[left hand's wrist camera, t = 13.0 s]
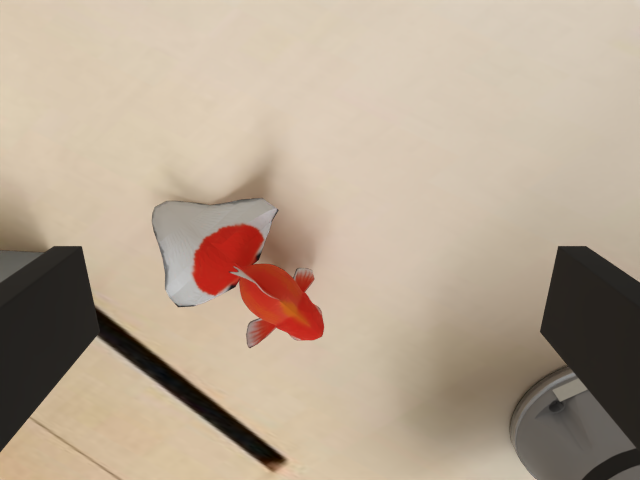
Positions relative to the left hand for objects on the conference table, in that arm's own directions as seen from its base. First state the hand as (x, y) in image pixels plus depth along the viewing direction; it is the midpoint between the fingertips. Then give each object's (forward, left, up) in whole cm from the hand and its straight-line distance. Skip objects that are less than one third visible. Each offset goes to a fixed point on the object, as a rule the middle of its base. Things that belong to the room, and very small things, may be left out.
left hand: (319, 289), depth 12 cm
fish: (+7, +9, -24) cm, 27 cm away
